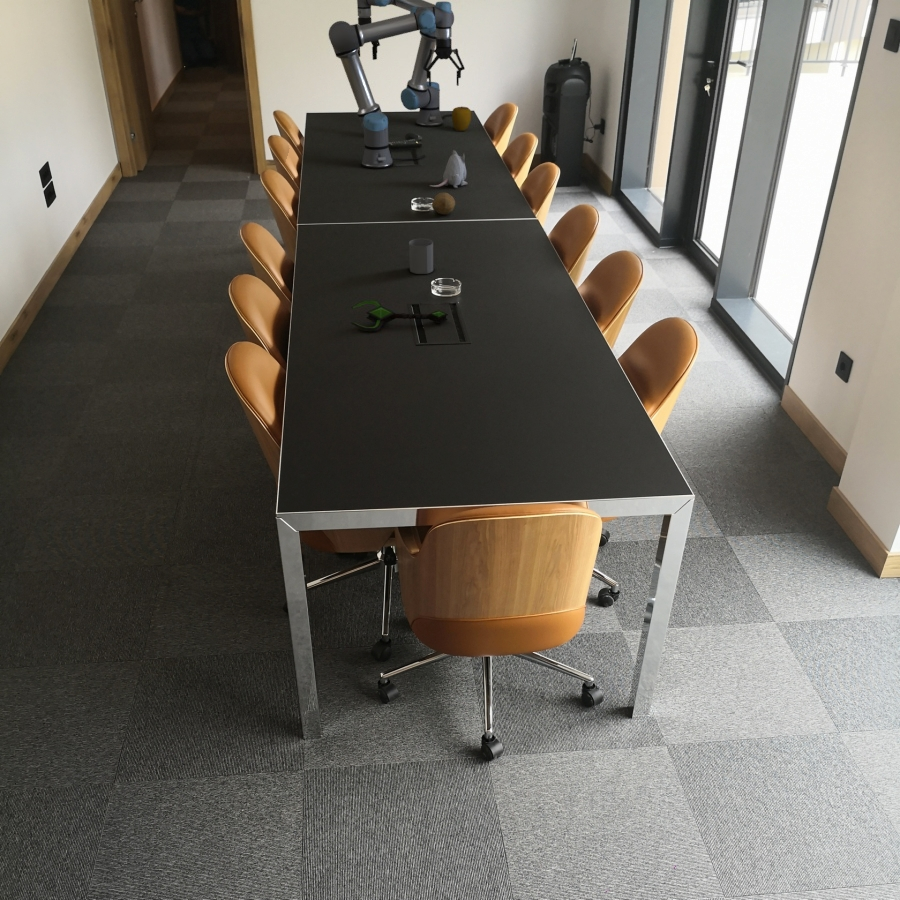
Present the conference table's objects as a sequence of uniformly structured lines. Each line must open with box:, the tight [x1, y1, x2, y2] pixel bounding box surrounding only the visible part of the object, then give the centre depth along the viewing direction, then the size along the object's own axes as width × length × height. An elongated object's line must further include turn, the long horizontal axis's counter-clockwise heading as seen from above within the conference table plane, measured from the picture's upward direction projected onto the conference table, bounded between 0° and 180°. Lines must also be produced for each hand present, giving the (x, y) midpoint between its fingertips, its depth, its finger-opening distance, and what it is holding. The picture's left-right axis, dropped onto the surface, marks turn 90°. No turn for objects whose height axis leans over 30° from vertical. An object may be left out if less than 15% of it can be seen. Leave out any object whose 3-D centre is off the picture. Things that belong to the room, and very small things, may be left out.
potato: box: [431, 192, 456, 216], centre depth 360 cm, size 10×14×8 cm
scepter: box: [350, 299, 449, 332], centre depth 268 cm, size 6×13×30 cm
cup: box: [408, 237, 434, 275], centre depth 305 cm, size 8×8×10 cm
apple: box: [451, 105, 472, 132], centre depth 487 cm, size 11×11×13 cm
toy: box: [428, 149, 468, 189], centre depth 390 cm, size 9×24×15 cm, turn 137°
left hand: (443, 85), depth 426 cm, fingers open, 13 cm apart
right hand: (366, 58), depth 495 cm, fingers open, 13 cm apart
